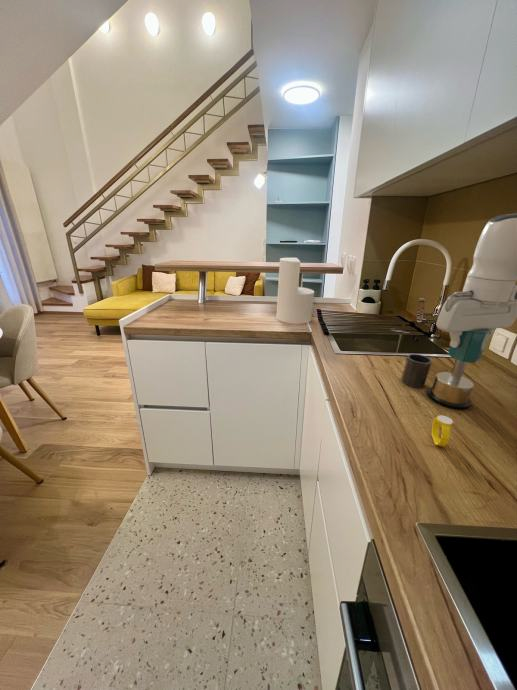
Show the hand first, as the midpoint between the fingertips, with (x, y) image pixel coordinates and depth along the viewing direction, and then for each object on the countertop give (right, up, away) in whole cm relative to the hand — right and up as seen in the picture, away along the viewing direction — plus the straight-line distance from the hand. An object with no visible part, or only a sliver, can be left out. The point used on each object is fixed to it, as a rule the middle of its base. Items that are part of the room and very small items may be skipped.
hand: (467, 345), depth 69 cm
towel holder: (-1, -15, +6) cm, 16 cm away
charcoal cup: (-6, -11, +14) cm, 19 cm away
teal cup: (0, -3, +1) cm, 3 cm away
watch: (-14, -21, -9) cm, 27 cm away
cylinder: (-35, +13, +69) cm, 79 cm away
